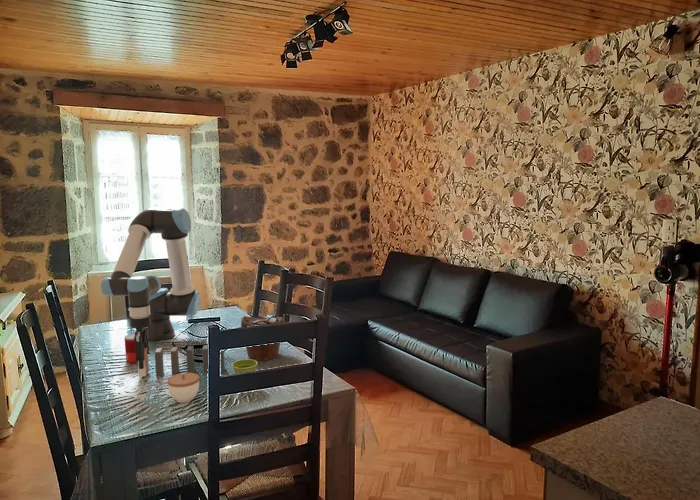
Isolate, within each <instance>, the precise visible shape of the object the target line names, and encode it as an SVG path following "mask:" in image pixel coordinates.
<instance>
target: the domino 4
mask: <svg viewBox="0 0 700 500" xmlns="http://www.w3.org/2000/svg"><path fill="white" fill-rule="evenodd" d="M194 351H195V350H194V345H189V346H187V348H186V364H187V365H186V366H187V367H186V368H187V373H195V371H196V370H195V353H194Z"/></svg>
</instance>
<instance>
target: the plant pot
mask: <svg viewBox="0 0 700 500" xmlns="http://www.w3.org/2000/svg"><path fill="white" fill-rule="evenodd" d="M257 366H258V360H253V359H250V358H246V359H245V358H244V359H239V360H235V361H234V362H232V363H231V367H232V368H233V371H234V374H237V373H243V372H249V371H255V372H256V369H257Z"/></svg>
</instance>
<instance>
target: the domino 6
mask: <svg viewBox="0 0 700 500" xmlns="http://www.w3.org/2000/svg"><path fill="white" fill-rule="evenodd" d="M225 365H226V362H225V350H224V351H221V372H220V373H224V372H225Z"/></svg>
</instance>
